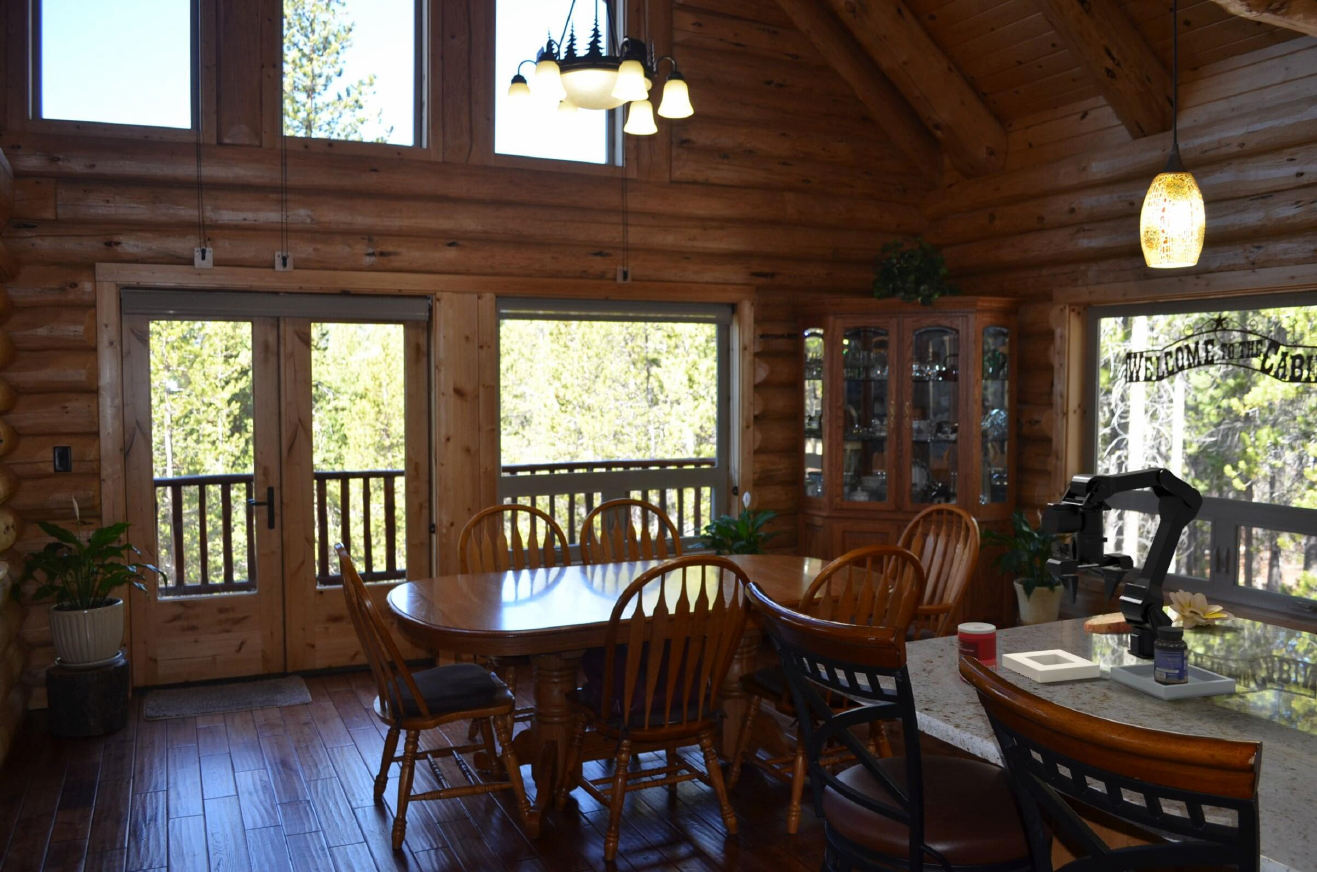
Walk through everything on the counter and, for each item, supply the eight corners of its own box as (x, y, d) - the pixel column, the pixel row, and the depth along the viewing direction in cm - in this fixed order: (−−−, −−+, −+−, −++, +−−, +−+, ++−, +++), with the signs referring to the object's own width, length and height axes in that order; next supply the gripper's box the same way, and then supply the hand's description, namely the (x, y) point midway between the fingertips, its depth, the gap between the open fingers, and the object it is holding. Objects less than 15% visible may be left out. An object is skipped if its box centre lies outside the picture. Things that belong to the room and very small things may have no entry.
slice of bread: (1081, 634, 255) (1081, 618, 255) (1089, 619, 271) (1088, 604, 271) (1162, 640, 247) (1162, 624, 247) (1165, 624, 263) (1165, 609, 263)
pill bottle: (1192, 687, 205) (1191, 632, 204) (1158, 687, 206) (1158, 631, 206) (1182, 679, 211) (1182, 625, 210) (1150, 678, 212) (1149, 624, 212)
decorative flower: (1196, 628, 248) (1190, 586, 250) (1159, 630, 259) (1153, 589, 261) (1243, 626, 253) (1237, 585, 256) (1205, 628, 264) (1199, 588, 266)
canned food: (997, 674, 220) (996, 623, 220) (996, 684, 213) (995, 631, 212) (959, 672, 223) (958, 621, 222) (957, 682, 215) (956, 629, 215)
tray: (1177, 672, 218) (1177, 660, 218) (1235, 692, 203) (1235, 680, 202) (1110, 678, 215) (1110, 666, 214) (1164, 700, 199) (1164, 687, 199)
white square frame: (1059, 660, 230) (1059, 649, 230) (1099, 676, 216) (1099, 664, 216) (1002, 665, 227) (1002, 654, 227) (1039, 682, 213) (1039, 670, 213)
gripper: (1099, 525, 237) (1100, 593, 238) (1029, 530, 232) (1030, 599, 233) (1135, 530, 227) (1135, 601, 227) (1061, 536, 221) (1063, 609, 222)
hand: (1090, 602), depth 228 cm, fingers open, 9 cm apart
